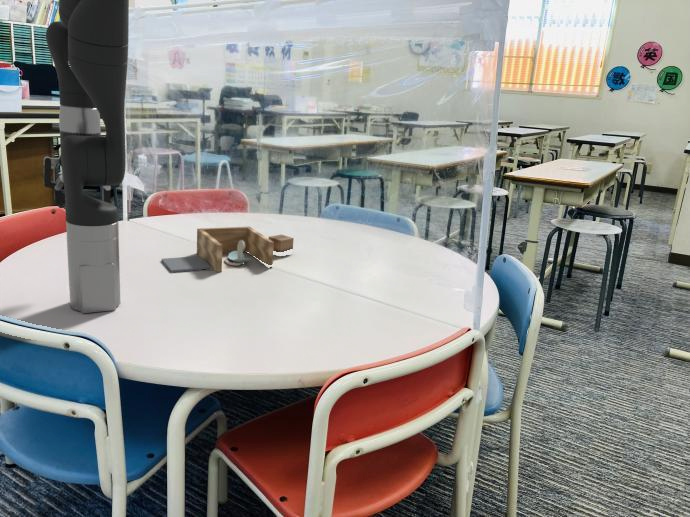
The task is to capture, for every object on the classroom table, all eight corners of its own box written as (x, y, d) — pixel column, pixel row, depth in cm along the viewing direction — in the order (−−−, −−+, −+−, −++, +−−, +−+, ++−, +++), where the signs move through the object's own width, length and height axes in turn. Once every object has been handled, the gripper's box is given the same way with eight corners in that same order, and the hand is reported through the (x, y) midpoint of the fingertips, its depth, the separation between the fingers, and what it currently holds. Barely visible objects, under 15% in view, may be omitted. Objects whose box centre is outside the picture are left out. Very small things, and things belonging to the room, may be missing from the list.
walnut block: (292, 255, 158) (293, 238, 156) (280, 257, 154) (281, 240, 152) (280, 250, 161) (281, 234, 159) (267, 253, 157) (268, 236, 155)
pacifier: (230, 268, 141) (252, 266, 144) (230, 245, 139) (252, 243, 142) (220, 260, 147) (241, 258, 150) (220, 238, 145) (241, 236, 148)
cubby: (272, 267, 144) (273, 242, 142) (217, 272, 136) (217, 245, 134) (248, 250, 158) (249, 226, 156) (196, 253, 150) (197, 228, 148)
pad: (211, 269, 138) (211, 267, 138) (171, 272, 133) (171, 270, 133) (199, 258, 146) (199, 256, 146) (161, 260, 141) (161, 258, 141)
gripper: (41, 129, 104) (46, 212, 109) (121, 133, 112) (122, 210, 117) (39, 125, 110) (44, 203, 115) (114, 129, 118) (116, 202, 123)
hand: (83, 207), depth 116 cm, fingers open, 8 cm apart
